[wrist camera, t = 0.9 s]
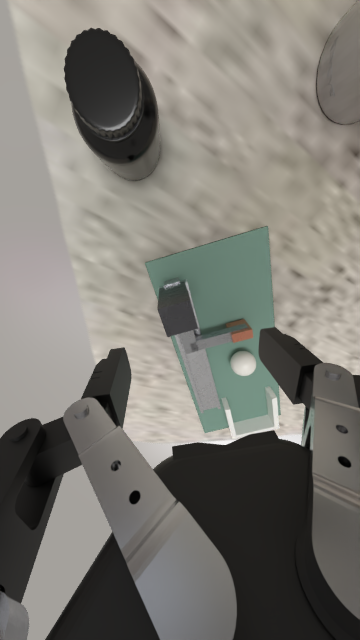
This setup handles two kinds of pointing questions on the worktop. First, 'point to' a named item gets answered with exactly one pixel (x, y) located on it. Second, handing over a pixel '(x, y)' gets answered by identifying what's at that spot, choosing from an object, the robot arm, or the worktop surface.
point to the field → (227, 315)
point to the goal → (256, 423)
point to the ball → (243, 363)
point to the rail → (199, 370)
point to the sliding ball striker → (193, 320)
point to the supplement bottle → (113, 104)
